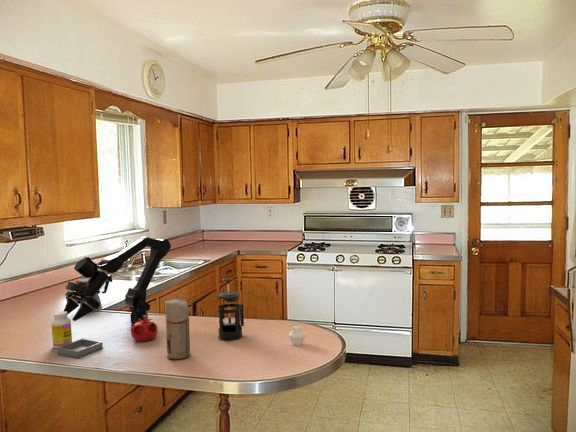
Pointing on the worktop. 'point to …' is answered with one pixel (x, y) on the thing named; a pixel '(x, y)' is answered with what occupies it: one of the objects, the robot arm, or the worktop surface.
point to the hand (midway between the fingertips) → (68, 318)
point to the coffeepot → (97, 293)
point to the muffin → (297, 336)
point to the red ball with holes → (144, 330)
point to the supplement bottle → (61, 329)
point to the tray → (80, 348)
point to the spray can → (177, 329)
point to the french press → (232, 324)
